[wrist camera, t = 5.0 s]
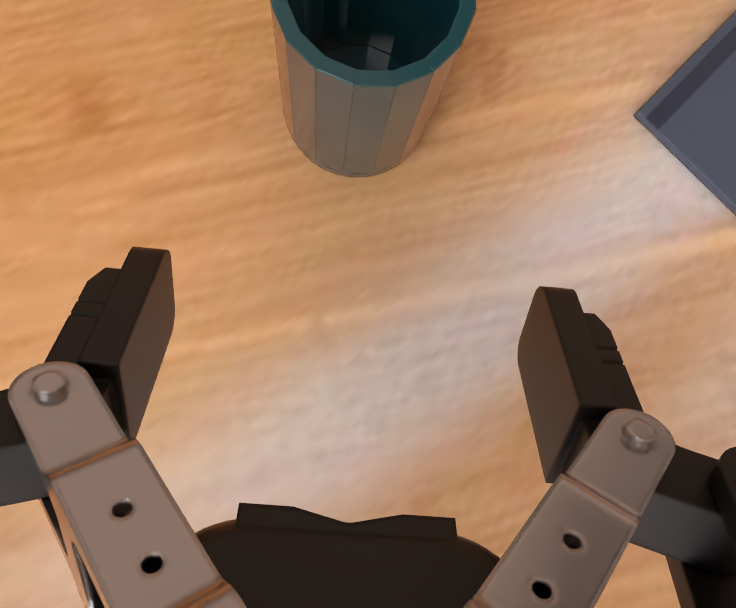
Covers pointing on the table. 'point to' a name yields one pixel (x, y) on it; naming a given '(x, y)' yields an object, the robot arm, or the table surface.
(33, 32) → the table surface
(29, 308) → the table surface
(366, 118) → the dark teal cup
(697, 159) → the grey notebook
